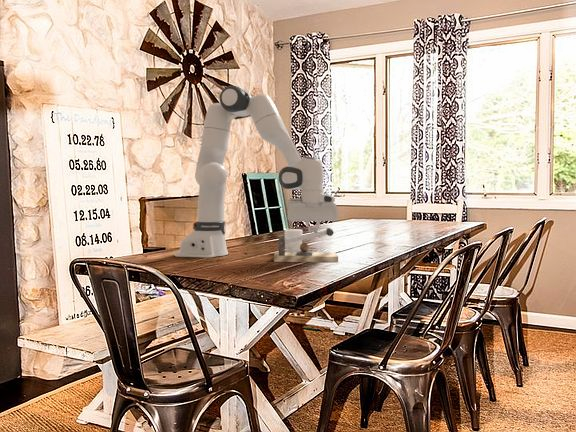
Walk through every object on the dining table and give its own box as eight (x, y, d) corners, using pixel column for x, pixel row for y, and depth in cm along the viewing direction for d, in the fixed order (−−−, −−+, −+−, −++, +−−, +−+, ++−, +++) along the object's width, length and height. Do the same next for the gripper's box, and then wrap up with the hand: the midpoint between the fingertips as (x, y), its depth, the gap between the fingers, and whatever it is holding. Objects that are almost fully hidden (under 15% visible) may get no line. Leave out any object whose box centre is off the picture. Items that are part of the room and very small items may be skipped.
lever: (279, 247, 217) (278, 240, 217) (279, 244, 224) (278, 238, 224) (334, 235, 217) (332, 228, 217) (332, 233, 224) (331, 227, 223)
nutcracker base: (274, 261, 215) (273, 238, 214) (274, 257, 227) (274, 235, 226) (338, 261, 215) (338, 238, 214) (335, 257, 227) (335, 235, 226)
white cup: (300, 254, 235) (300, 231, 235) (282, 253, 237) (282, 230, 236) (304, 251, 243) (304, 229, 242) (286, 251, 245) (286, 228, 244)
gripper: (286, 198, 216) (286, 233, 217) (338, 197, 216) (338, 232, 217) (286, 197, 222) (286, 232, 223) (337, 197, 222) (337, 231, 223)
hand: (312, 232), depth 220 cm, fingers closed
